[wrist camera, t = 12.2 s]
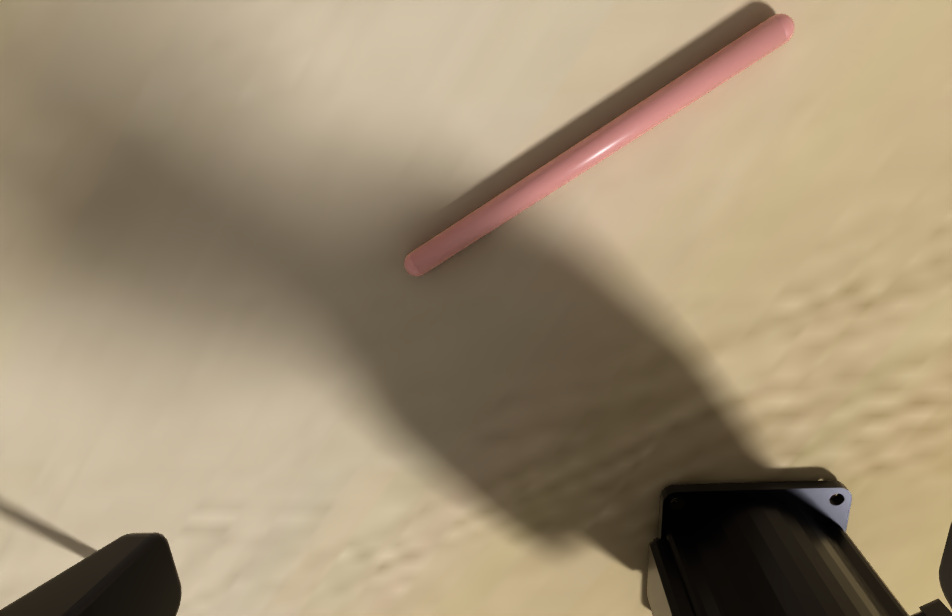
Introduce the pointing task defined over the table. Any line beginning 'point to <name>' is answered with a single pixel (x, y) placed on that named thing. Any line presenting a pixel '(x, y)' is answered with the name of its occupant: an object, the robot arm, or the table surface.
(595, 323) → the table surface
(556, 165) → the pink rod
